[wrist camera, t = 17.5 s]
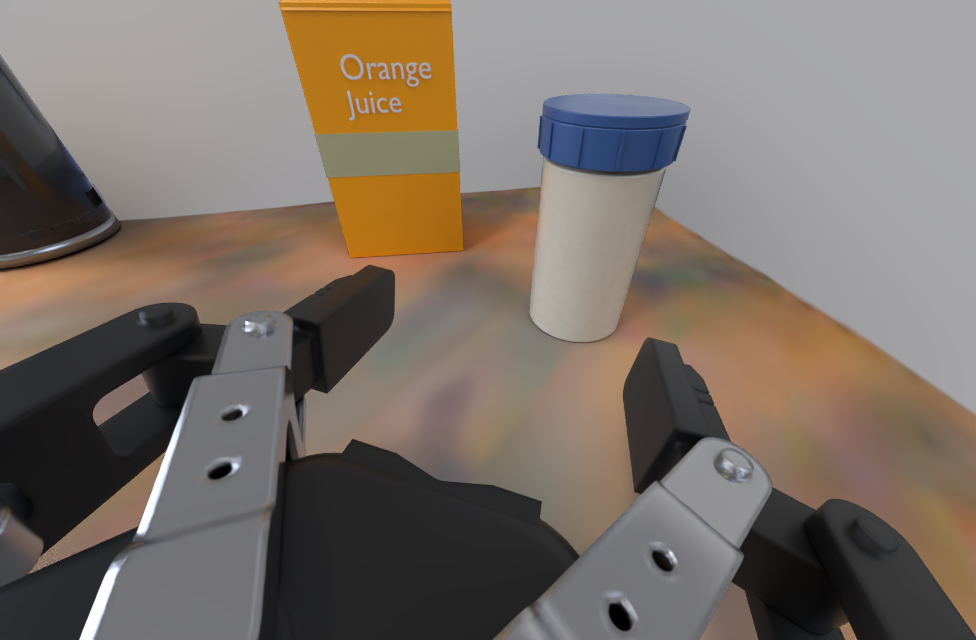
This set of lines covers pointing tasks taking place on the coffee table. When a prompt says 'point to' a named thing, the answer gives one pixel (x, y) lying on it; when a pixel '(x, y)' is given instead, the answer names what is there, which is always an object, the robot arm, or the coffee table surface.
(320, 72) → the orange juice
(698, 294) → the coffee table surface
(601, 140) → the lid
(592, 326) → the jar
